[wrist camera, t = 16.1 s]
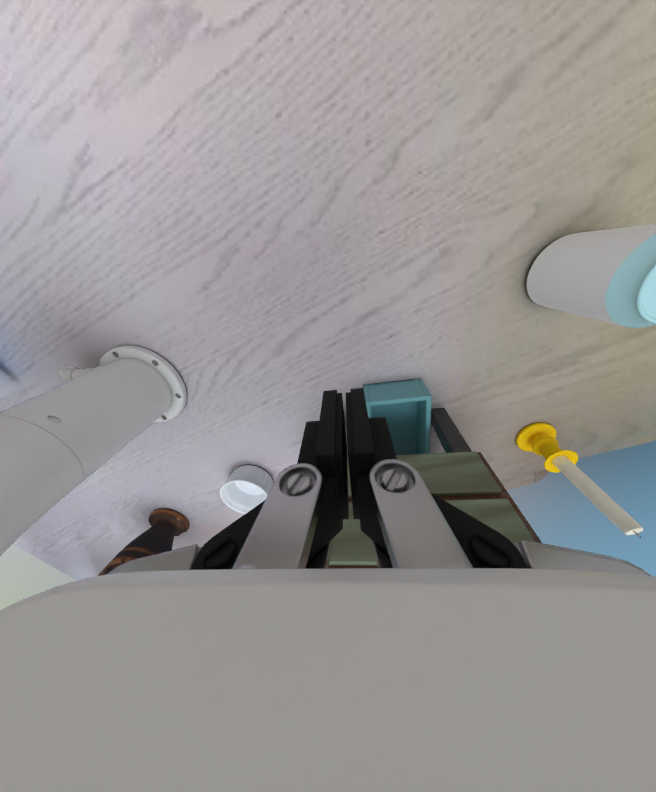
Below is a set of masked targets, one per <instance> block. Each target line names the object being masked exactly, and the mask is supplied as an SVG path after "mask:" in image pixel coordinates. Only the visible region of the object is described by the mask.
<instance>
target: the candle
mask: <svg viewBox="0 0 656 792" xmlns="http://www.w3.org/2000/svg"><path fill="white" fill-rule="evenodd" d="M555 437H556V430H555V429H554V427H553V426H551V425H549V424H547V423H534V424H531V425H528V426H526V427H525V428H523V429H522V430H521V431H520V432H519V433H518V435H517V437H516V444H517V445H518V447H519V448H520V449H522V450H524V451H533V452H534V453H535V454H537V455H542V456H543V457H544V458H545V459H546V460H545V462H544V467H545V468H546V469H547V470H548V471H550V472H562V473H563V474H564V475H565V476H566V477H567V478H568V479H569V480H570V481H571V482H572V483H573V484H574V485H575V486H576V487H577V488H578V489H579V490H580V491H581V492H582V493H583V494H584V495H585V496H586V497H587V498H588V499H589V500H590V501H591V502H592V503H593V504H594V505H595V506H596V507H597V508H598V509H599V510H600V511H602V512H603V514H605V515H606V516H607V517H608V518H609V519H610V520H611V521H612V522H613V523H614V524H615V525H616V526H617V527H618V528H619V529H620V530H621V531H623V532H624V533H625V534H626V535H632V534H636V535H638V534H637V533H639V532H641V531H643V528H642V527H641V526H640V525H639V524H638V523H637V522H636V521H635V520H634V519H633V518H632V517H630V516H629V515H628V514H627V513H626V512H625V511H624V510H623V509H622V508H621V507H620V506H619V505H618V504H617V503H616V502H614V501H613V500H612V499H611V498H610V497H609V496H608V495H607V494H606V493H605V492H604V491H603V490H602V489H600V488H599V487H598V486H597V485H596V484H595V483H594V482H593V481H592V480H591V479H589V477H587V476H586V475H585V474H584V473H583V472H582V471H581V470H580V469H579V468H578V467H577V466H576V465H575V464H576V462H577V461H578V455H577V454H576V453H575V452H573V451H570V450H563V451H562V450H561V449H560V448H559V447H558V441H557V440H556V439H555ZM638 536H639V535H638ZM639 537H640V536H639ZM640 538H641V537H640Z"/></svg>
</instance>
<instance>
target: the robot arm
mask: <svg viewBox="0 0 656 792" xmlns="http://www.w3.org/2000/svg"><path fill="white" fill-rule="evenodd" d="M57 375H58V376H59V377H60V378H62V379H67V380H71V381H69V382H67V383H65V384H63V385H60V386H58V387H56V388H54V389H51V390H49V391H47V392H44V393H42V394H40V395H38V396H35V397H33V398H31V399H29V400H26V401H24V402H22V403H20V404H17V405H15V406H13V407H10V408H8V409H6V410H4V411H1V412H0V556H1V555H2V554H3V553H4V552H5V551H6V550H7V549H8V548H9V547H10V546H11V545H12V544H13V543H14V542H15V541H16V540H17V539H18V538H19V537H20V536H21V535H22V534H23V533H24V532H25V531H26V530H27V529H28V528H29V527H31V526H32V525H33V524H34V523H35V522H36V521H37V520H38V519H39V518H40V517H42V516H43V515H44V514H45V513H46V512H47V511H48V510H50V509H51V508H52V507H53V506H54V505H55V504H56V503H58V502H59V501H60V500H61V499H62V498H64V497H65V496H66V495H67V494H68V493H69V492H71V491H72V490H73V489H74V488H75V487H77V486H78V485H79V484H80V483H81V482H83V481H84V480H85V479H86V478H87V477H89V476H90V475H91V474H92V473H93V472H95V471H96V470H97V469H98V468H99V467H100V466H102V465H103V464H104V463H105V462H106V461H108V460H109V459H110V458H111V457H112V456H114V455H115V454H116V453H117V452H118V451H120V450H121V449H122V448H123V447H124V446H126V445H127V444H128V443H129V442H130V441H131V440H133V439H134V438H135V437H136V436H137V435H139V434H140V433H141V432H142V431H143V430H145V429H146V428H147V427H148V426H149V425H151V424H152V423H153V422H165V421H169V420H171V419H173V418H175V417H176V416H177V415H178V414H180V413H181V411H182V410H183V409H184V407H185V405H186V400H187V392H186V388H185V385H184V383H183V381H182V378H181V377H180V375H179V374H178V372H177V371H176V370H175V369H174V368H173V366H172V365H171V364H170V363H168V362H167V361H166V360H165V359H164V358H162V357H161V356H159V355H158V354H156V353H154V352H152V351H150V350H148V349H145V348H142V347H139V346H131V345H127V346H120V347H116V348H114V349H111V350H109V351H107V352H106V353H105V354H104V355H103V356H102V358H101V359H100V361H99V365H98V367H96V368H94V369H90V368H87V369H84V370H82V369H80V368H76V367H71V366H65V365H64V366H61V367H60V368H59V369H58V371H57ZM346 415H347V443H346V432H345V421H344V411H343V400H342V393H337V390H331V391H324V393H323V400H322V407H321V415H320V421H311V422H307V423H306V427H305V431H304V436H303V440H302V445H301V449H300V454H299V459H298V463H297V464H295V465H291V466H289V467H287V468H285V469H284V470H283V471H282V472H280V473H279V475H278V476H277V478H276V479H275V481H274V483H273V485H272V488H271V490H270V492H269V494H268V496H267V498H266V500H264V501H263V502H262V503H260V504H259V505H257V506H256V507H255V508H253V509H252V510H250V511H249V512H248V513H246V514H245V515H243V516H242V517H241V518H239V519H238V520H236V521H235V522H234V523H232V524H231V525H229V526H228V527H226V528H225V529H224V530H222V531H221V532H219V533H218V534H217V535H215V536H214V537H212V538H211V539H210V540H209V541H208V542H207V543H206V544H204V546H203V547H198V545H197V544H195V545H191V546H187V547H183V548H179V549H175V550H171V551H167V552H163V553H159V554H155V555H151V556H147V557H143V558H139V559H135V560H131V561H128V562H126V563H123V564H121V565H119V566H118V567H116V568H115V569H113V570H112V571H110V572H109V573H108V574H107V575H102V576H96V577H90V578H86V579H82V580H78V581H75V582H71V583H67V584H64V585H60V586H57V587H54V588H52V589H49V590H47V591H44V592H41V593H39V594H36V595H33V596H31V597H28V598H26V599H23V600H21V601H19V602H17V603H14V604H12V605H10V606H8V607H6V608H4V609H3V610H1V611H0V792H656V577H653V576H651V575H649V574H648V573H647V572H645V571H644V570H643V569H641V568H639V567H637V566H635V565H633V564H631V563H629V562H627V561H625V560H622V559H618V558H615V557H611V556H607V555H601V554H596V553H591V552H585V551H580V550H575V549H569V548H564V547H559V546H554V545H548V544H543V543H538V542H532V541H527V540H522V539H520V541H519V543H515V542H511V541H510V540H509V539H508V538H506V537H505V536H503V535H502V534H501V533H499V532H498V531H496V530H494V529H492V528H491V527H489V526H487V525H486V524H484V523H482V522H480V521H479V520H477V519H475V518H474V517H472V516H470V515H469V514H467V513H465V512H463V511H462V510H460V509H458V508H457V507H455V506H453V505H451V504H450V503H448V502H446V501H445V500H443V499H441V498H439V497H438V496H436V495H434V494H433V493H431V492H429V490H428V488H427V486H426V485H425V483H424V481H423V479H422V478H421V476H420V474H419V473H418V471H417V470H416V469H415V468H414V467H413V466H412V465H410V464H409V463H406V462H404V461H402V460H397V457H396V454H395V450H394V447H393V443H392V439H391V436H390V432H389V429H388V425H387V422H386V418H385V417H375V418H369V417H368V412H367V406H366V400H365V394H364V389H363V388H358V389H351V392H349V393H346ZM347 447H348V463H349V474H350V485H351V496H352V506H353V517H354V519H360V528H361V531H362V532H363V533H364V534H366V535H367V536H368V537H369V538H370V539H371V540H372V546H373V550H374V554H375V558H376V562H377V566H378V568H349V569H328V568H329V563H330V557H331V551H332V539H333V538H334V537H335V536H336V535H337V534H338V533H339V532H340V531H341V529H343V519H349V506H348V470H347Z"/></svg>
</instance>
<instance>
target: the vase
mask: <svg viewBox="0 0 656 792" xmlns="http://www.w3.org/2000/svg"><path fill="white" fill-rule="evenodd" d="M149 523H150V525H151V526H152V527H151V528H150V529H148V530H147V531H146V532H144V533H143V534H141V535H140V536H138V537H137V538H136V539H134V540H133V541H132V542H131V543H129V544H128V545H127V546H126V547H125V548H124V549H123V550H122V551H121V552H119V553H118V554H117V556H116V557H115V558H114V559H113V560H112V561H111V562H110V563H109V564H108V565H107V566H106V567H105V568H104V569H103V571H102V572H101V573H100V574H99V575H98V576H102V575H107V574H108V573H109V572H110V571H112V570H113V569H115V568H116V567H118V566H119V565H121V564H123V563H126V562H128V561H131V560H135V559H139V558H143V557H147V556H151V555H155V554H159V553H163V552H167V551H171V550H172V544H173V538H174V536H179V535H180V534H182V533H183V532H186V531H187V530H188V529H189V523H188V521H187V519H186V518H185V517H184V516H182V515H181V514H179V513H178V512H175V511H172V510H169V509H159V510H155V511H153V512H152V513H151V515H150V517H149Z"/></svg>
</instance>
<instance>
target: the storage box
mask: <svg viewBox="0 0 656 792" xmlns="http://www.w3.org/2000/svg"><path fill="white" fill-rule="evenodd" d="M363 388H364V394H365V400H366V406H367V412H368V417H369V418H375V417H385V418H386V422H387V425H388V429H389V432H390V436H391V439H392V443H393V447H394V450H395V454H396V455H412V454H429V448H430V424H431V400H432V396H431V394H430V392H429V391H428V389H427V387H426V386H425V384H424V382H423V381H422V379H421V378H420V379H411V380H403V381H394V382H385V383H376V384H368V385H363Z"/></svg>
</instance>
